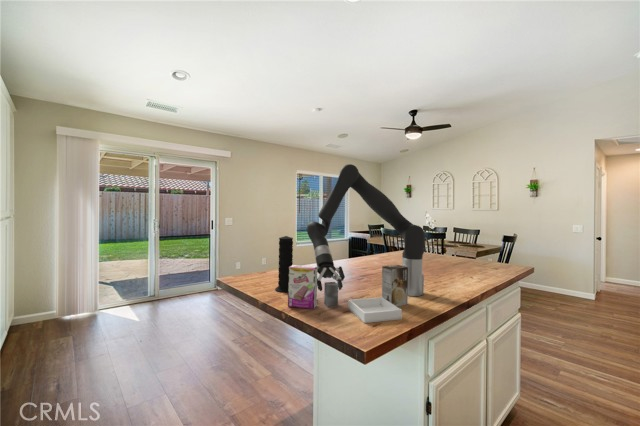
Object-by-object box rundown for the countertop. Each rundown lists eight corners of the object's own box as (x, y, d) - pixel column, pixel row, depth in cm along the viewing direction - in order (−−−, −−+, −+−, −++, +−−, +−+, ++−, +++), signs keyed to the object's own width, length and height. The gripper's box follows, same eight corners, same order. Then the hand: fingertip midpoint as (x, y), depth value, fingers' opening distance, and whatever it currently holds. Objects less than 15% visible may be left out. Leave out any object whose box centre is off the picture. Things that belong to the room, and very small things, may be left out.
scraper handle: (334, 302, 119) (334, 281, 119) (337, 306, 115) (338, 284, 115) (324, 303, 118) (324, 282, 118) (327, 307, 114) (327, 285, 113)
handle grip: (271, 291, 133) (291, 293, 131) (272, 236, 133) (292, 237, 131) (279, 286, 143) (297, 287, 141) (279, 234, 143) (298, 235, 141)
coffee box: (397, 300, 124) (398, 264, 124) (407, 304, 119) (408, 267, 118) (381, 303, 120) (381, 265, 120) (391, 307, 114) (392, 268, 114)
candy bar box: (287, 307, 113) (288, 266, 112) (291, 303, 118) (291, 264, 117) (314, 309, 110) (315, 268, 110) (317, 305, 115) (317, 266, 115)
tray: (381, 305, 117) (381, 297, 117) (401, 319, 103) (401, 309, 102) (348, 308, 113) (348, 299, 113) (364, 323, 98) (364, 313, 98)
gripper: (310, 252, 123) (316, 285, 112) (340, 252, 127) (349, 284, 116) (306, 262, 128) (312, 295, 117) (336, 261, 132) (344, 292, 121)
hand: (331, 289), depth 116 cm, fingers open, 8 cm apart
